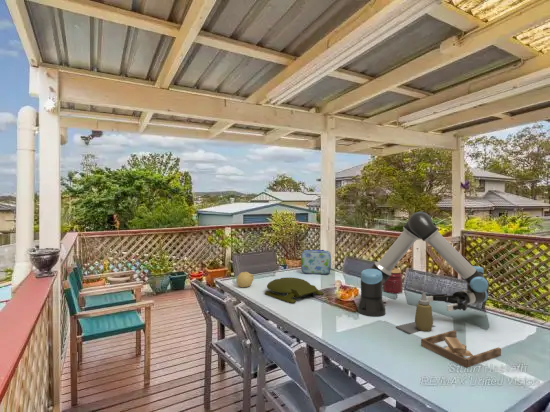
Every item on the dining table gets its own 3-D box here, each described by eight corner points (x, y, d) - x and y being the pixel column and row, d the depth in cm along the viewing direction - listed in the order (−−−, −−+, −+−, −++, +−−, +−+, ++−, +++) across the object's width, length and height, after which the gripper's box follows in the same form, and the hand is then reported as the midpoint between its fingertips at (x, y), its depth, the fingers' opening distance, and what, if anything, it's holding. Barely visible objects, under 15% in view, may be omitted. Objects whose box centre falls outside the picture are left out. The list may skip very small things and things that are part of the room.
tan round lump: (255, 285, 240) (255, 271, 239) (245, 289, 229) (245, 274, 229) (243, 283, 246) (243, 269, 246) (233, 287, 236) (233, 272, 235)
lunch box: (331, 272, 281) (331, 248, 281) (331, 275, 271) (331, 250, 270) (301, 271, 286) (301, 248, 285) (300, 274, 275) (300, 250, 275)
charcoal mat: (421, 321, 166) (421, 320, 166) (453, 334, 150) (453, 333, 150) (395, 327, 159) (395, 326, 159) (426, 342, 142) (426, 340, 142)
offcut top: (453, 352, 126) (453, 347, 126) (444, 341, 136) (444, 336, 136) (465, 353, 125) (465, 348, 125) (456, 342, 135) (456, 337, 135)
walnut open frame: (454, 338, 146) (454, 330, 146) (500, 358, 128) (501, 348, 128) (421, 348, 137) (421, 339, 137) (466, 370, 119) (466, 360, 119)
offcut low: (437, 353, 134) (437, 348, 134) (468, 355, 132) (468, 350, 132) (442, 359, 129) (442, 354, 129) (474, 361, 127) (474, 356, 127)
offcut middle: (443, 354, 129) (443, 349, 129) (454, 346, 136) (454, 341, 136) (455, 358, 125) (455, 353, 125) (466, 350, 132) (466, 345, 132)
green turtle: (325, 295, 215) (325, 280, 215) (291, 305, 196) (291, 289, 195) (290, 285, 242) (290, 272, 242) (258, 292, 223) (257, 278, 223)
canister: (402, 289, 227) (402, 264, 226) (403, 294, 214) (403, 268, 214) (383, 287, 231) (382, 263, 231) (382, 292, 219) (382, 267, 218)
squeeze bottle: (411, 326, 158) (411, 290, 158) (426, 325, 159) (427, 290, 159) (420, 333, 150) (420, 295, 150) (436, 332, 151) (436, 294, 151)
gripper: (487, 313, 155) (458, 320, 146) (441, 298, 178) (414, 304, 169) (487, 297, 155) (459, 304, 146) (441, 285, 178) (414, 290, 169)
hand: (435, 304), depth 157 cm, fingers open, 13 cm apart
